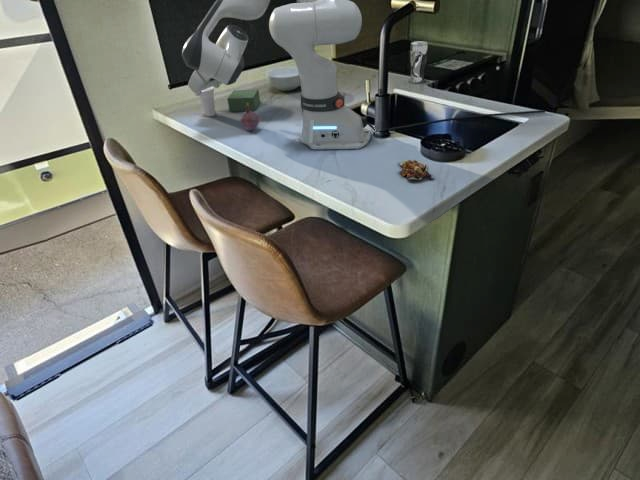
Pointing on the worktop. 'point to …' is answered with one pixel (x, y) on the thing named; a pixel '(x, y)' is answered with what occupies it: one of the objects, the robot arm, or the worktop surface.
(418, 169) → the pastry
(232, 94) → the green block
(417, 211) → the worktop surface
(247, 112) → the vegetable
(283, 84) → the cereal bowl
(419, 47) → the beer glass
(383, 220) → the worktop surface
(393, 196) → the worktop surface
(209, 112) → the smoothie
